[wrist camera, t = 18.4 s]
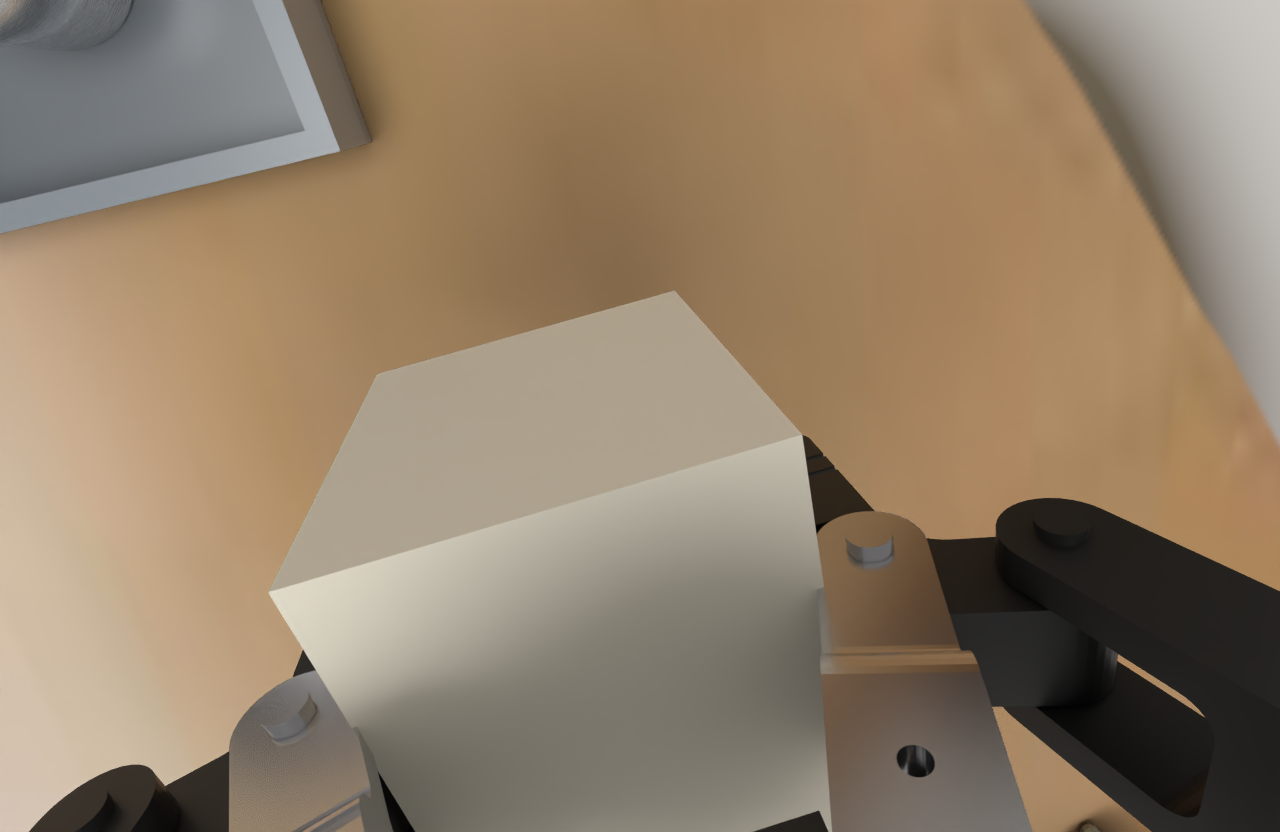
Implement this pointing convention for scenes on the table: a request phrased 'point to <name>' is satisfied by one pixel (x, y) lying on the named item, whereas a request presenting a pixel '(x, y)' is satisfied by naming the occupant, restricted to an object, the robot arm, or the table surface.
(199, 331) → the table surface
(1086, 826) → the tabletop clock
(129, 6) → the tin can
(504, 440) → the cream box
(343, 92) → the tote
